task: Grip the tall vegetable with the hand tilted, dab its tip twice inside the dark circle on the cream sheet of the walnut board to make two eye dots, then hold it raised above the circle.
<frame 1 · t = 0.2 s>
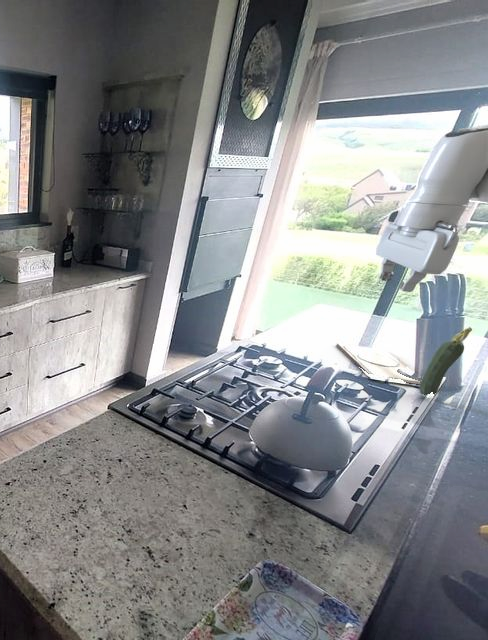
hand: (394, 285, 89), 31 cm above the counter, tool pointing down, fingers open, 8 cm apart
vegetable: (420, 396, 109), on the counter
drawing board: (378, 365, 125), on the counter
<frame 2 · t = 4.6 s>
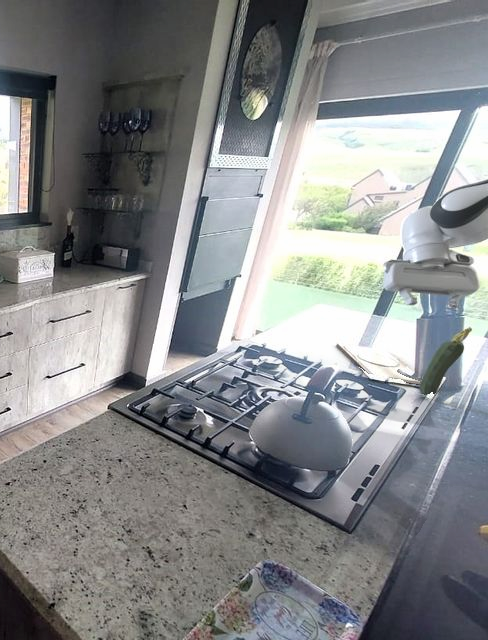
hand: (432, 306, 109), 21 cm above the counter, tool tilted 45°, fingers open, 8 cm apart
nothing on the counter moved.
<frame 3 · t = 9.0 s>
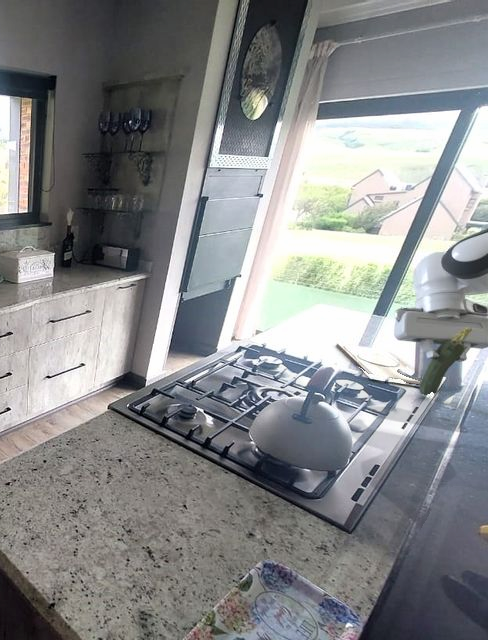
hand: (446, 359, 103), 11 cm above the counter, tool tilted 45°, fingers closed on vegetable, 4 cm apart
vegetable: (420, 396, 109), on the counter, touching gripper
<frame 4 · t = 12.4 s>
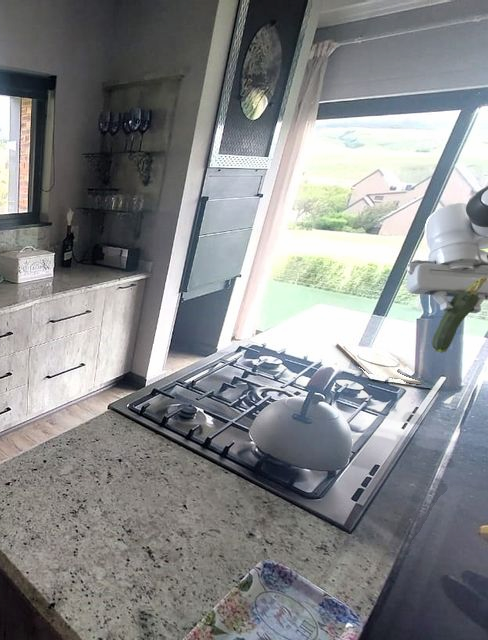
hand: (460, 310, 101), 23 cm above the counter, tool tilted 45°, fingers closed on vegetable, 4 cm apart
vegetable: (433, 351, 107), point 11 cm above the counter, touching gripper
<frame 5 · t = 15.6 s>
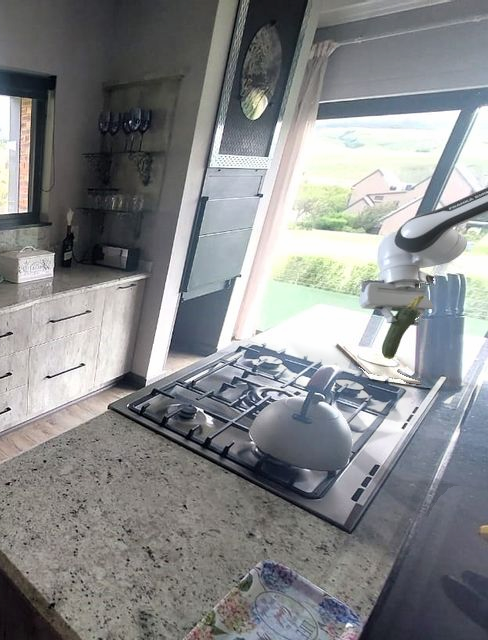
hand: (403, 323, 118), 14 cm above the counter, tool tilted 45°, fingers closed on vegetable, 4 cm apart
vegetable: (382, 358, 124), point 2 cm above the counter, touching gripper
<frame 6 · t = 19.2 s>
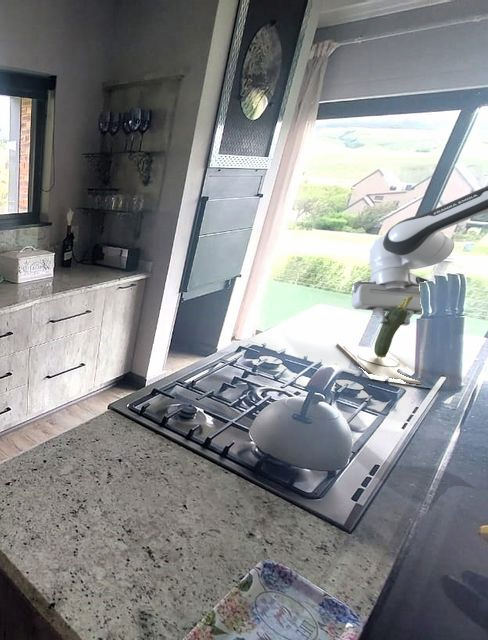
hand: (394, 323, 122), 13 cm above the counter, tool tilted 45°, fingers closed on vegetable, 4 cm apart
vegetable: (375, 357, 128), point 1 cm above the counter, touching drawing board, gripper
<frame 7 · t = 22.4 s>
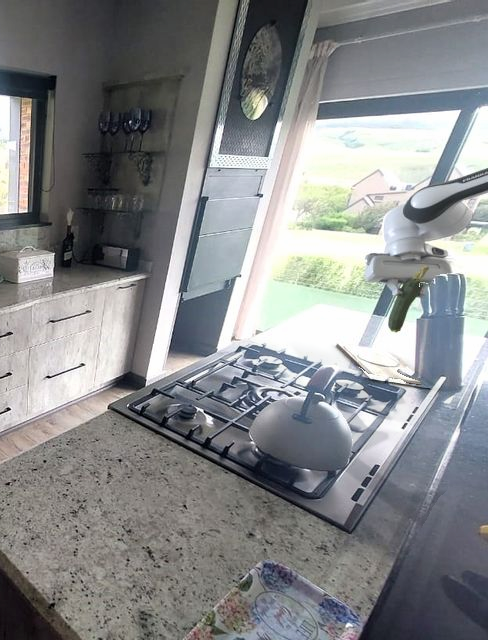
hand: (409, 295, 118), 21 cm above the counter, tool tilted 45°, fingers closed on vegetable, 4 cm apart
vegetable: (389, 331, 124), point 10 cm above the counter, touching gripper
at the end: the gripper is holding vegetable; vegetable inside the target area (2.1 cm from its centre), point 9.7 cm above the counter; vegetable moved 25.1 cm from its start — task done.
